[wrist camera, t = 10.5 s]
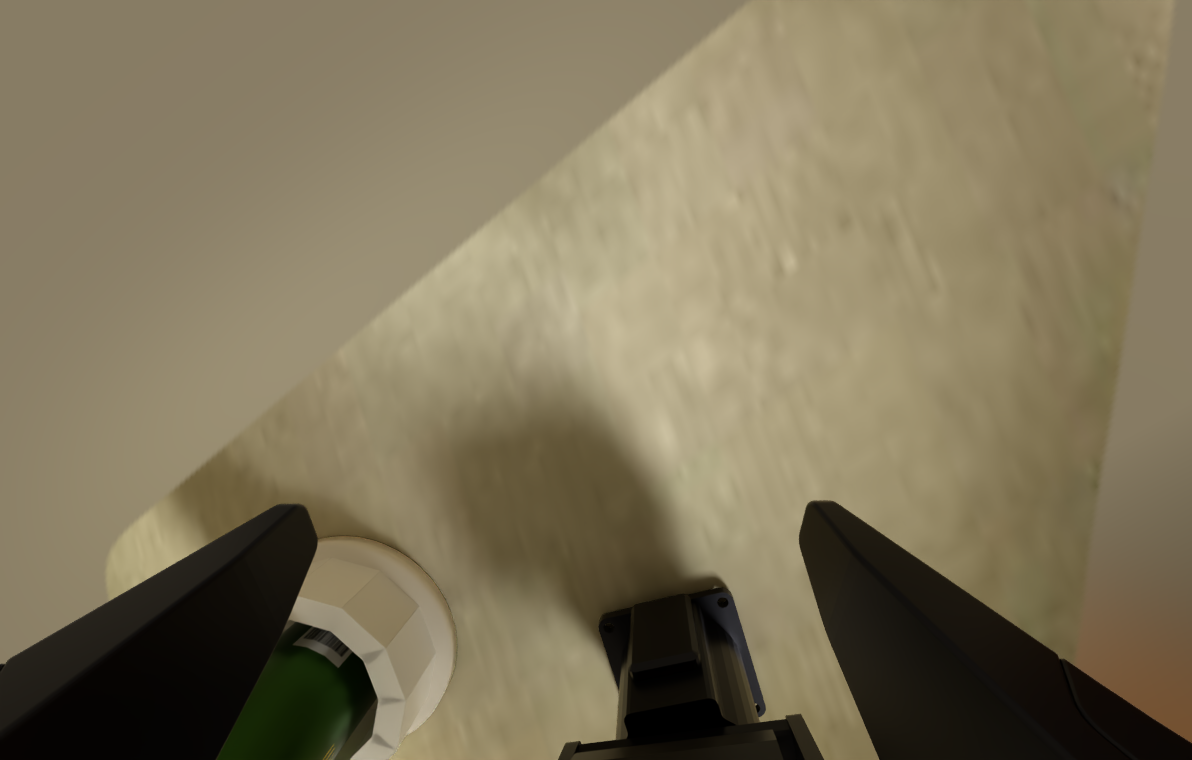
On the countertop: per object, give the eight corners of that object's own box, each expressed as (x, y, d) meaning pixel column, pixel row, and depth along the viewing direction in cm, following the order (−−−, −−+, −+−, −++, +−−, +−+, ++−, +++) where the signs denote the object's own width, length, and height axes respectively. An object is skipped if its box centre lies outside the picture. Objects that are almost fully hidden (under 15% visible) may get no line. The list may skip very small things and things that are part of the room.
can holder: (485, 708, 25) (455, 784, 21) (302, 746, 26) (241, 823, 22) (414, 512, 23) (367, 552, 20) (228, 563, 25) (149, 610, 21)
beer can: (303, 586, 24) (-43, 860, 12) (405, 616, 23) (154, 930, 11) (289, 680, 24) (-47, 1024, 13) (388, 710, 24) (136, 1094, 12)
